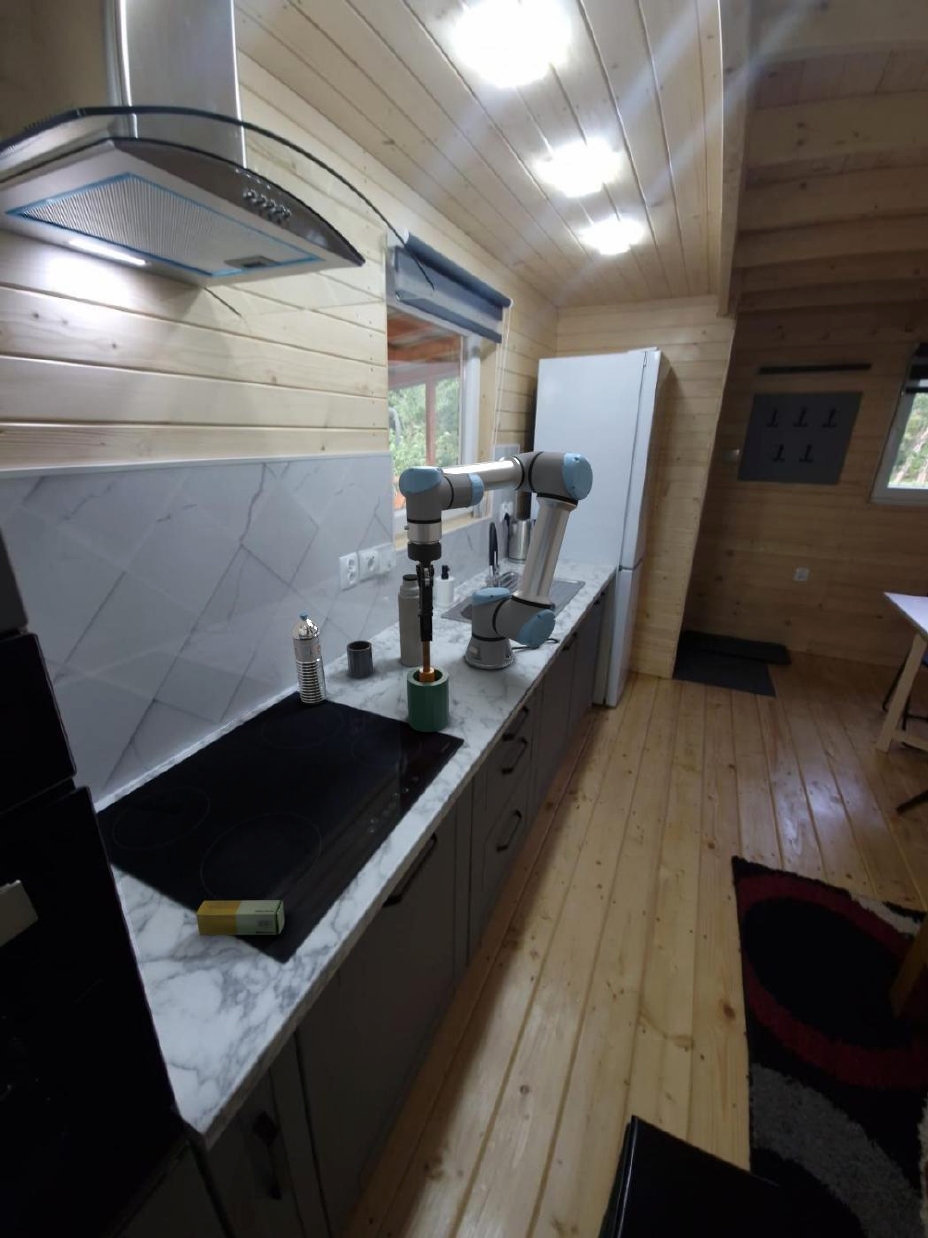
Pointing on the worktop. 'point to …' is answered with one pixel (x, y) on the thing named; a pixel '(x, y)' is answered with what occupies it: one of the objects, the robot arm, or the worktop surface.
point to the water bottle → (309, 661)
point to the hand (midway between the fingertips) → (426, 638)
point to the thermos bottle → (410, 622)
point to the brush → (426, 665)
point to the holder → (360, 659)
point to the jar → (428, 700)
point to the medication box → (241, 917)
